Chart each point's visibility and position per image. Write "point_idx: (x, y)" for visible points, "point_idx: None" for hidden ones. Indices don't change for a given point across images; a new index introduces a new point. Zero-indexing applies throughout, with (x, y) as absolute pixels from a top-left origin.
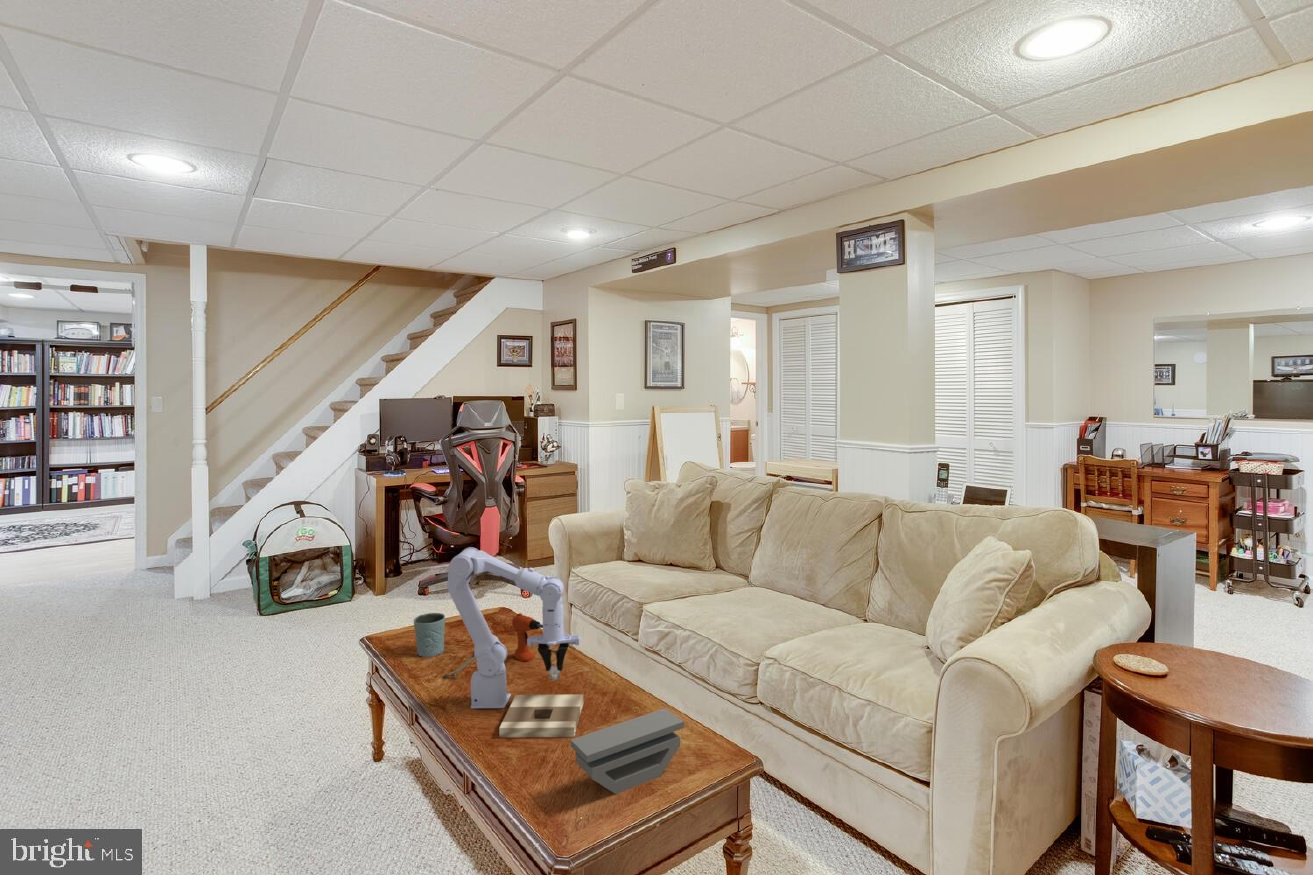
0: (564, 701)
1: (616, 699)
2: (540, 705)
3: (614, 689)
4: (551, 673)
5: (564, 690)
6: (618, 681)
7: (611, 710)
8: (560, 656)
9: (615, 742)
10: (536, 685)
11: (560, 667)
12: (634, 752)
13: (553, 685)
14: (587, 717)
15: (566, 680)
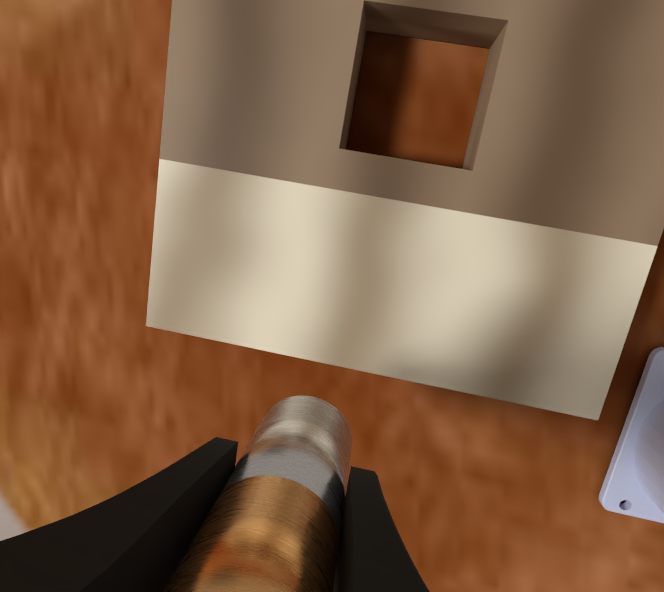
0: (262, 252)
1: (5, 314)
2: (426, 226)
3: (22, 426)
4: (324, 437)
5: None
6: (9, 504)
7: (22, 192)
8: (104, 541)
9: None
10: (437, 577)
11: (205, 451)
12: None
13: None
14: (146, 132)
15: None
